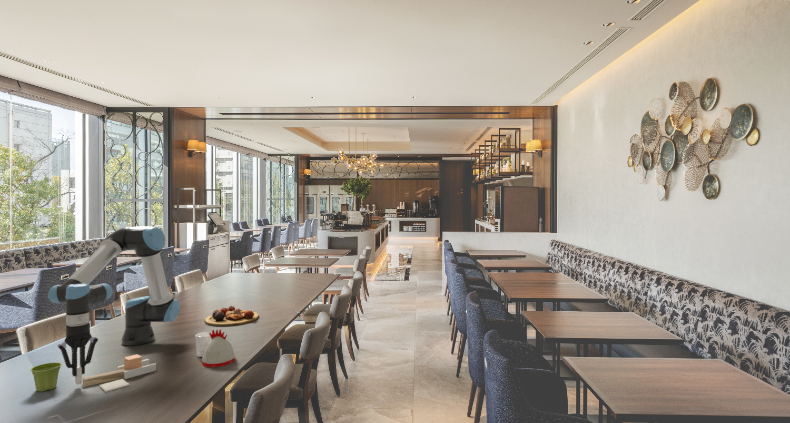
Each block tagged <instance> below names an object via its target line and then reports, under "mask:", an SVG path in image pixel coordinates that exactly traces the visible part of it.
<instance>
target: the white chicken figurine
mask: <svg viewBox="0 0 790 423" xmlns="http://www.w3.org/2000/svg"><path fill="white" fill-rule="evenodd" d="M209 332H210V333H209V334H210V336H211V338H212V340H211V341H210V342H209V343H208V345H207V346H206V348H205V351H204V354H203V357H201V364H202V366H203V367H205V366H206V368H218V367H219V368H220V367H224V366H229V365H230V364H232V363H234V361H235V360H236V357H235V356H236V355H235V354H236V353H235V351H234V348H233V346H232V344H231V342H230V341H229V340H228V338H227V337H228V334H226V335H225V331H223V332H222V329H221V328H220V329H219V330H218V328H217V329H216V330H214V329H212V331H209ZM211 332H212V334H211Z"/></svg>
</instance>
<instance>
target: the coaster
mask: <svg viewBox="0 0 790 423" xmlns="http://www.w3.org/2000/svg"><path fill="white" fill-rule="evenodd" d="M129 386H130V383H129V382H127V381H126V379H124V378H121V379H116V380H112V381H108V382H104V383H101V384H99V388H101V390H103V391H104V392H105V393H109V392H111V391H114V390H119V389H122V388H125V387H129Z"/></svg>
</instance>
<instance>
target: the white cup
mask: <svg viewBox="0 0 790 423" xmlns="http://www.w3.org/2000/svg"><path fill="white" fill-rule="evenodd" d="M210 332H211V334H212V331H203V332H198V333H196V334H195V350H196V357H199V358H203V354H204V351H205V348H206V346H207V345H208V343H209V342H210V341H211V340H212V338H211V336H210V334H209V333H210Z"/></svg>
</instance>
